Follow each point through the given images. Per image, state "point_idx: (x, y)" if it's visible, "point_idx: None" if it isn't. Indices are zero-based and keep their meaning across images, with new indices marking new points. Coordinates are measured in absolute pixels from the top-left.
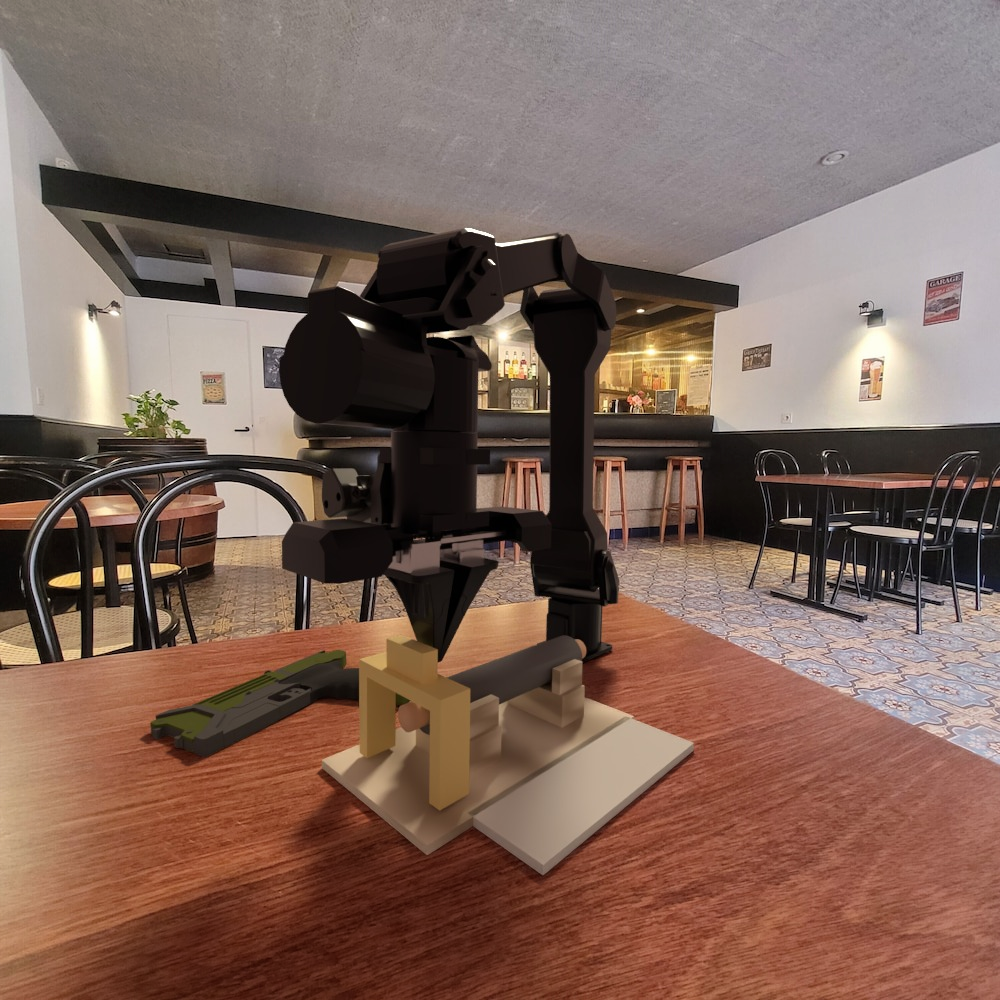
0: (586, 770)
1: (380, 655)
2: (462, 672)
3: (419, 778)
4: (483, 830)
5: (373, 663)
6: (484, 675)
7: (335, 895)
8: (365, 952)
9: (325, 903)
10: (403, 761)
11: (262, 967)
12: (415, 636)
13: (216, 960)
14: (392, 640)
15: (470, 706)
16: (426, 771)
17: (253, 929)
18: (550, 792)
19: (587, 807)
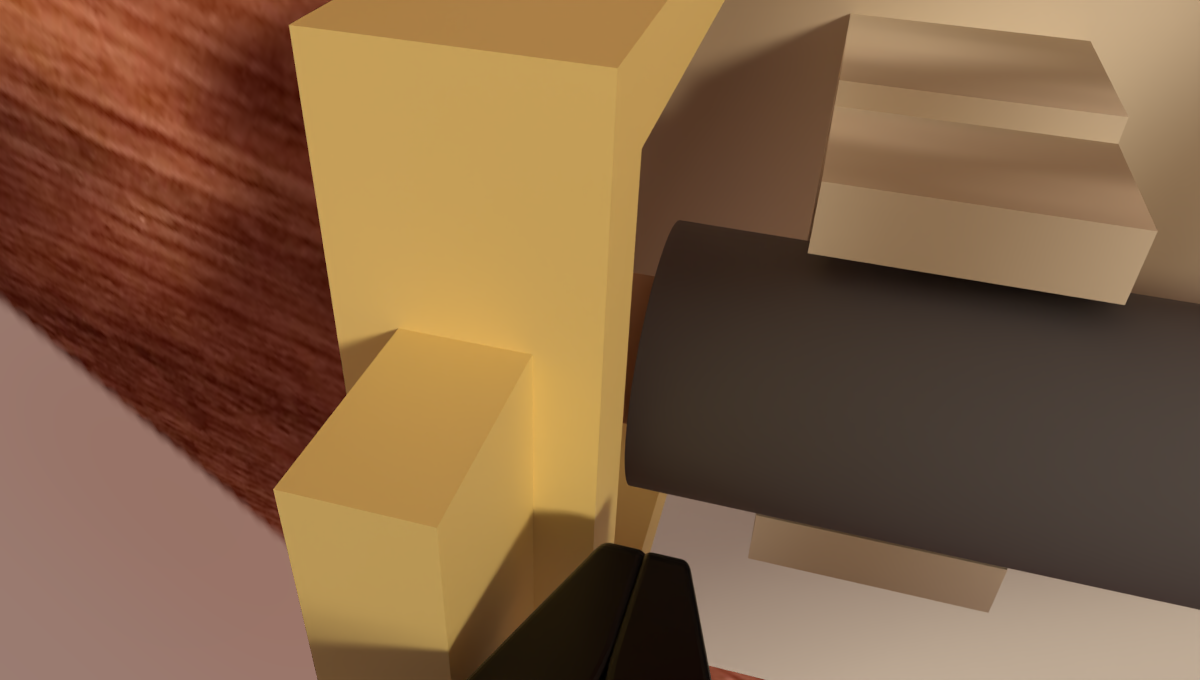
0: (1085, 640)
1: (487, 113)
2: (1008, 484)
3: (652, 225)
4: None
5: (349, 205)
6: (1078, 581)
7: (246, 324)
8: (250, 453)
9: (221, 323)
10: (694, 83)
11: (90, 339)
12: (475, 671)
13: (16, 264)
14: (296, 550)
15: (804, 545)
16: (709, 212)
17: (80, 259)
18: (882, 589)
19: (881, 672)
